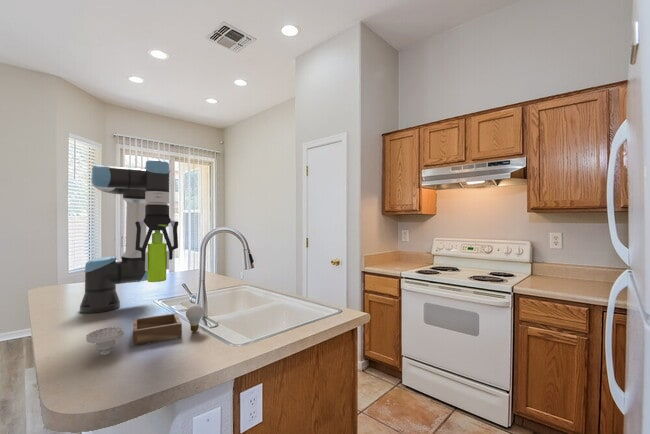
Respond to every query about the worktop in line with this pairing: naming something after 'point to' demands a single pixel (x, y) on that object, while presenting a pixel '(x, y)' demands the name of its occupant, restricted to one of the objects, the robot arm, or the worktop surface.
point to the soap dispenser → (157, 257)
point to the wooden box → (156, 329)
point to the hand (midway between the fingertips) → (157, 269)
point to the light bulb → (194, 316)
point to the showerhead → (105, 338)
